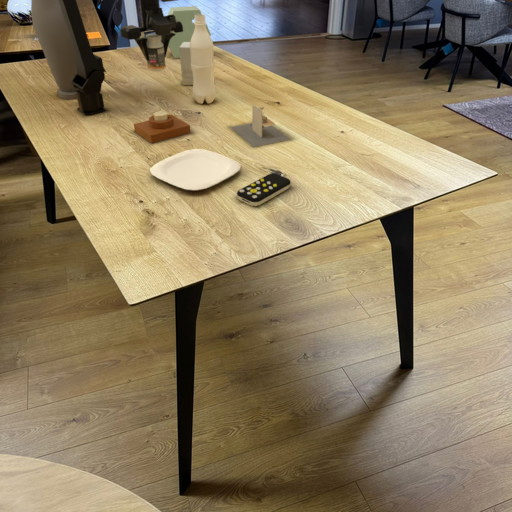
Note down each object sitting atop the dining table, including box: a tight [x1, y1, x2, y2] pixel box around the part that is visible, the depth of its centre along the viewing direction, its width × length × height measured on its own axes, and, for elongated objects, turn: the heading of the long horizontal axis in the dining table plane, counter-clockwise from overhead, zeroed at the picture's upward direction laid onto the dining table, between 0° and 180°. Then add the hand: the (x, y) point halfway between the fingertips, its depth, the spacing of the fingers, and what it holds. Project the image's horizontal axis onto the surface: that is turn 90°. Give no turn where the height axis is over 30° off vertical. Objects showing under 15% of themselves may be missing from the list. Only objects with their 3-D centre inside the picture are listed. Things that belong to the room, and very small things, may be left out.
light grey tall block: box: [179, 42, 193, 86], centre depth 165 cm, size 7×7×13 cm
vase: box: [30, 0, 78, 100], centre depth 148 cm, size 13×13×35 cm
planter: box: [166, 5, 212, 59], centre depth 193 cm, size 17×8×21 cm
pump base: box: [133, 113, 191, 144], centre depth 131 cm, size 12×10×4 cm
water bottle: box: [190, 13, 217, 105], centre depth 145 cm, size 7×7×25 cm
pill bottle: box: [145, 33, 166, 72], centre depth 150 cm, size 6×6×10 cm
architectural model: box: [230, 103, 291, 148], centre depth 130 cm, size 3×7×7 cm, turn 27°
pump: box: [153, 110, 168, 121], centre depth 130 cm, size 4×4×2 cm
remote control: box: [236, 173, 292, 207], centre depth 105 cm, size 6×13×2 cm, turn 138°
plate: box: [149, 148, 242, 192], centre depth 112 cm, size 18×18×2 cm
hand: (155, 58), depth 151 cm, fingers closed on pill bottle, 6 cm apart
